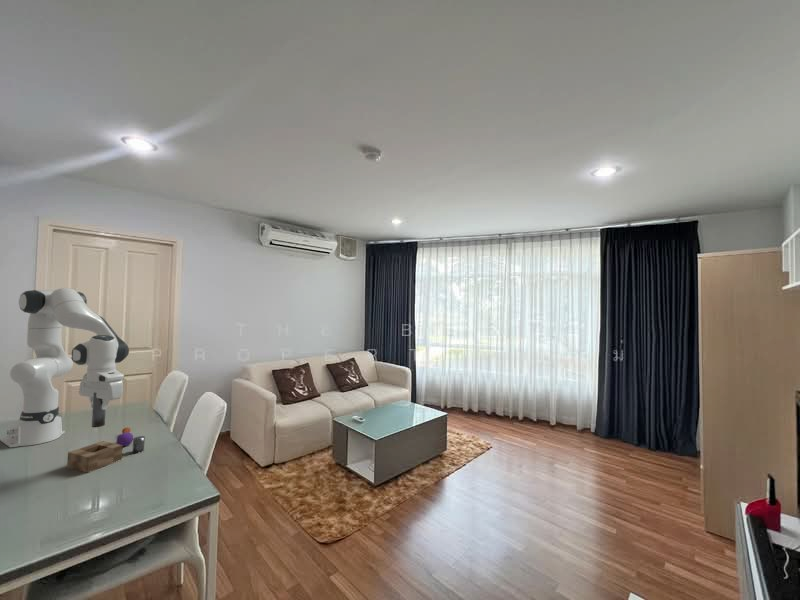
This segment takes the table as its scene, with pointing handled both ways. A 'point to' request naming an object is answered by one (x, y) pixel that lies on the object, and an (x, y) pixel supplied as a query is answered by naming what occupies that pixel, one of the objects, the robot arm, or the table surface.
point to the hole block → (94, 456)
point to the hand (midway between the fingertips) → (99, 408)
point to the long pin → (98, 412)
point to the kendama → (125, 437)
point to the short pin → (138, 444)
